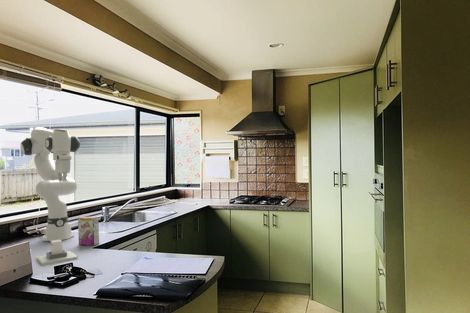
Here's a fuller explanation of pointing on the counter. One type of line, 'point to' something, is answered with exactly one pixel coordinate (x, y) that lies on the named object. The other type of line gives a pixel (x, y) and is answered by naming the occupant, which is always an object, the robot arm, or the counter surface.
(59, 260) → the socket plate
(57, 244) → the charger block
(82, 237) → the candy bar box
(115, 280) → the counter surface
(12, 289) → the counter surface
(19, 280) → the counter surface
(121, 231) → the counter surface
